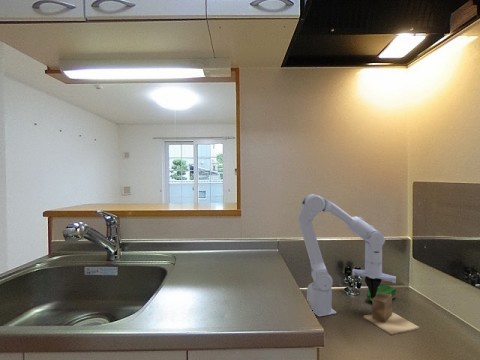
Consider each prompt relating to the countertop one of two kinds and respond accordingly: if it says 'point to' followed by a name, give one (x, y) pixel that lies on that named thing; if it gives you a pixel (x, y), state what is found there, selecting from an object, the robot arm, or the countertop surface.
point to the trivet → (393, 324)
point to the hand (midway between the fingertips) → (373, 297)
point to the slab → (382, 307)
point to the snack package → (383, 291)
